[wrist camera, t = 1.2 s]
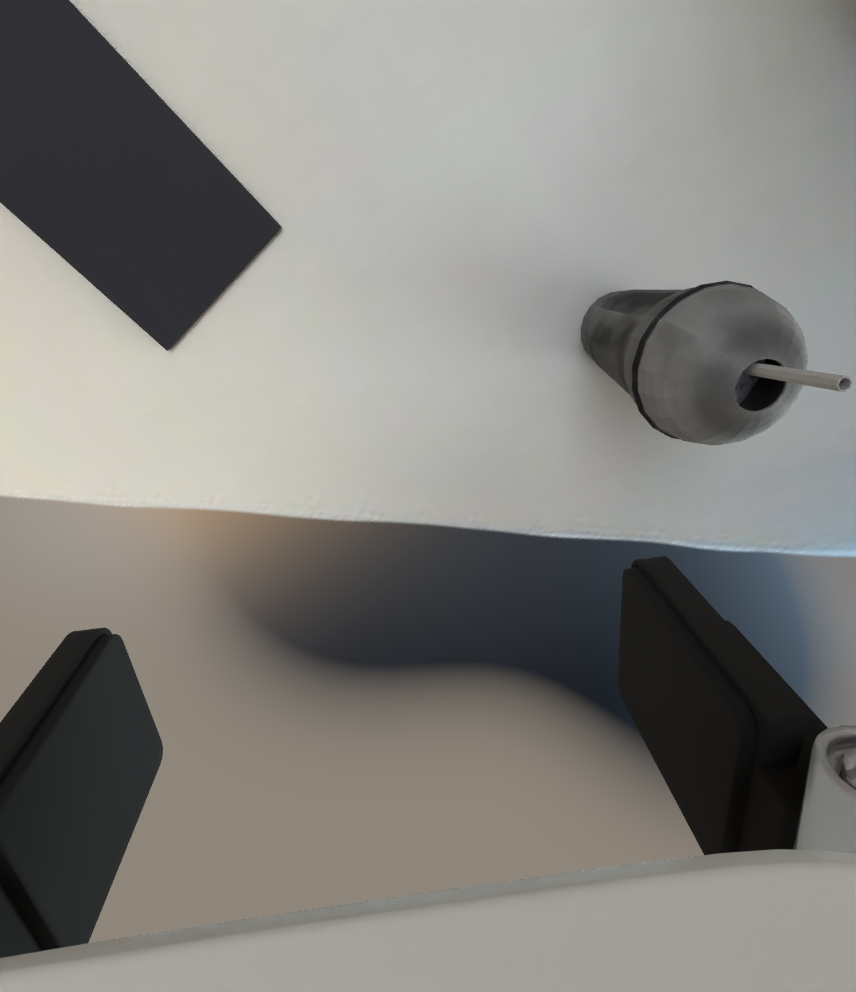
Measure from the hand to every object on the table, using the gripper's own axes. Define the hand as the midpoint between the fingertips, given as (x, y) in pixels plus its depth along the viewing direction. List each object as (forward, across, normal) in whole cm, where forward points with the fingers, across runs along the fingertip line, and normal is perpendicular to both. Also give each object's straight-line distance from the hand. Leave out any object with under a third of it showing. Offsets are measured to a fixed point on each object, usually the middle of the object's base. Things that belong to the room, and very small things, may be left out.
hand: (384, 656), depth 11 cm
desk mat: (+28, +15, -14) cm, 35 cm away
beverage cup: (+29, -15, 0) cm, 32 cm away
